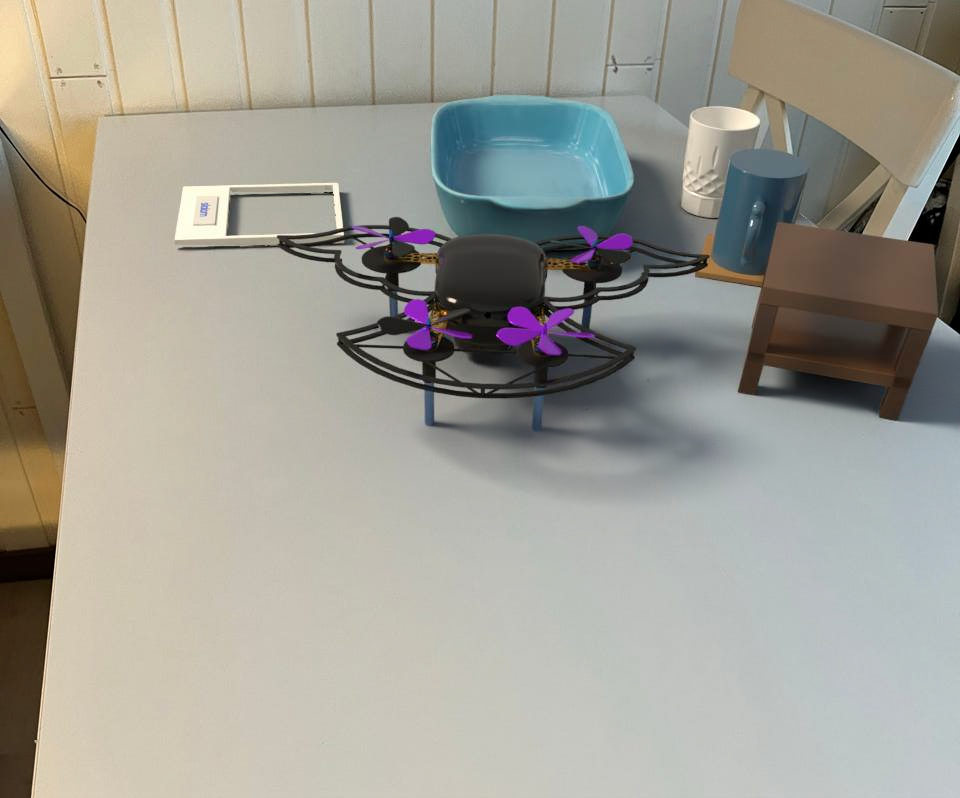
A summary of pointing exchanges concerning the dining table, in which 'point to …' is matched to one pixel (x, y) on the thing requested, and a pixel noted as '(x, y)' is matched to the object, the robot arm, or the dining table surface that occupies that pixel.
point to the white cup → (713, 154)
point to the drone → (489, 302)
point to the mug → (756, 207)
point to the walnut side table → (844, 309)
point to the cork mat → (723, 274)
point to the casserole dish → (529, 167)
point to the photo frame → (209, 213)
